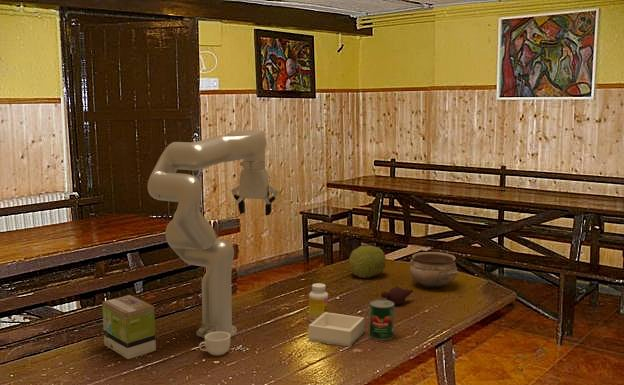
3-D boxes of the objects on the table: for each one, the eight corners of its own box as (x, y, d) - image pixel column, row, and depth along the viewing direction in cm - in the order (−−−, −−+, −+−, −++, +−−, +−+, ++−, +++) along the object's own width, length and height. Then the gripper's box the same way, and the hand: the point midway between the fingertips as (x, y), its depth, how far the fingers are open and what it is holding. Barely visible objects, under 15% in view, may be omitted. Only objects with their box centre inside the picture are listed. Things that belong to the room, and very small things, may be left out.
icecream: (404, 281, 255) (374, 291, 247) (417, 281, 249) (386, 291, 241) (408, 299, 255) (378, 309, 247) (421, 299, 249) (390, 310, 241)
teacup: (223, 346, 207) (223, 329, 207) (235, 354, 201) (235, 337, 200) (194, 353, 202) (193, 336, 201) (205, 361, 196) (204, 344, 195)
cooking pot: (394, 283, 276) (395, 254, 274) (426, 275, 287) (427, 248, 285) (439, 298, 256) (440, 267, 254) (472, 289, 267) (473, 259, 265)
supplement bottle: (326, 325, 226) (326, 288, 224) (307, 323, 227) (307, 287, 225) (329, 318, 233) (329, 283, 231) (311, 317, 234) (311, 281, 232)
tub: (350, 347, 207) (350, 331, 206) (308, 340, 212) (308, 325, 211) (364, 332, 219) (364, 317, 219) (325, 326, 225) (325, 312, 224)
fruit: (359, 269, 297) (376, 240, 294) (380, 287, 287) (398, 258, 285) (337, 264, 285) (354, 234, 282) (358, 283, 275) (376, 252, 273)
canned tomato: (374, 341, 212) (374, 308, 210) (365, 332, 219) (366, 300, 217) (397, 338, 214) (398, 305, 212) (388, 330, 221) (388, 298, 220)
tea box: (103, 346, 207) (100, 300, 205) (132, 338, 214) (130, 293, 212) (127, 360, 196) (125, 312, 194) (157, 351, 203) (155, 304, 201)
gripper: (227, 166, 230) (228, 214, 233) (274, 167, 225) (274, 217, 228) (235, 163, 237) (236, 211, 240) (281, 165, 233) (281, 213, 235)
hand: (255, 214), depth 234 cm, fingers open, 9 cm apart
